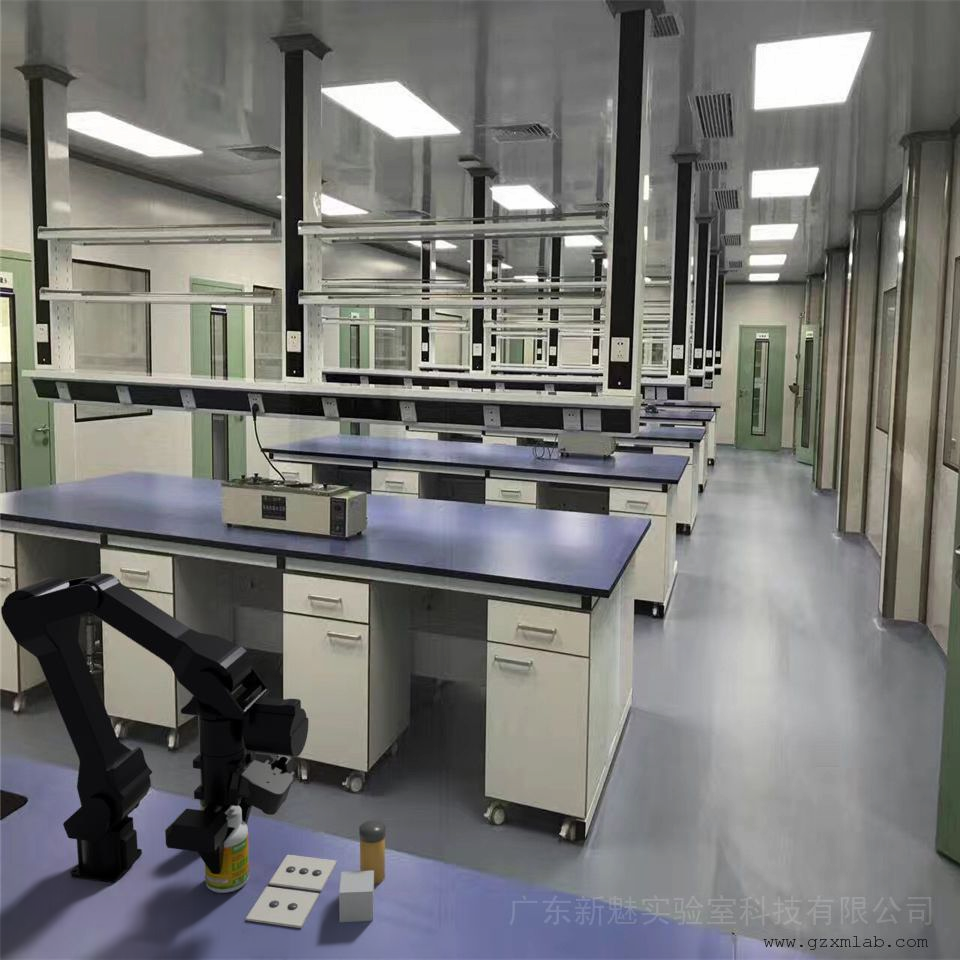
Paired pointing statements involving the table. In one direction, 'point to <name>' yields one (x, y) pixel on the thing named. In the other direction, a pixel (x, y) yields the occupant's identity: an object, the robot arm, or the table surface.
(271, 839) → the table surface
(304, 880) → the pad three
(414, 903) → the table surface
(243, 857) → the supplement bottle
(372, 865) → the amber vial
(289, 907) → the pad two
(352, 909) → the grey block
